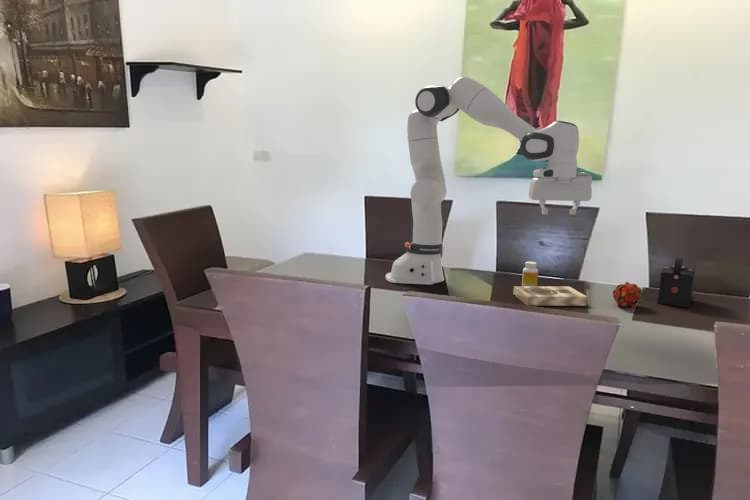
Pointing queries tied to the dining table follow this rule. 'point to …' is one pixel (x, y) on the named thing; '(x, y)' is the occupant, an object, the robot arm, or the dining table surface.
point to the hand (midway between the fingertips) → (558, 214)
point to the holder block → (550, 295)
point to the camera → (676, 285)
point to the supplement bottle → (530, 274)
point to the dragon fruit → (627, 295)
